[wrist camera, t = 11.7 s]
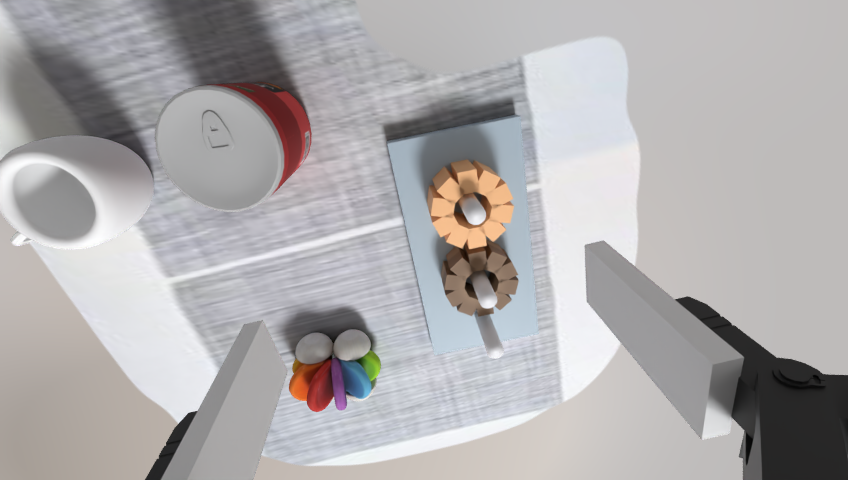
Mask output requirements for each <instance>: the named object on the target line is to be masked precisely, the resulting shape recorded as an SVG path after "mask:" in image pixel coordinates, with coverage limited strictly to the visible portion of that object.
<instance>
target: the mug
mask: <svg viewBox="0 0 848 480" xmlns="http://www.w3.org/2000/svg"><path fill="white" fill-rule="evenodd" d="M153 193H154V181H153V177H152V174H151V172H150V170H149V168H148V166H147V165H146V164H145V162H144V161H143V160H142V159H141V158H140V157H139V156H138V155H137V154H136V153H135V152H134V151H132V150H131V149H129V148H128V147H126V146H124V145H122V144H119V143H117V142H114V141H111V140H108V139H104V138H99V137H94V136H83V135H68V136H57V137H50V138H46V139H42V140H38V141H34V142H30V143H28V144H25V145H23V146H20V147H18V148H16V149H13V150H12V151H10V152H9V153H7V154H6V155H5V156H4V157H3V158H2V160H1V161H0V213H1V214H2V216H3V217H4V218H5V219H6V220H7V222H8V223H9V224H10V225H11V226H12V227H14V228H15V229H16V230H17V232H16V233H15V234H14V235H13V236H12V238H11V239H10V240H11V242H12V244H13V245H16V246H19V245H23V244H27V243H30V242H32V241H35V242H37V243H39V244H42V245H45V246H48V247H52V248H57V249H85V248H89V247H93V246H96V245H99V244H102V243H104V242H107V241H109V240H111V239H113V238H115V237H117V236H119V235H121V234H122V233H124V232H125V231H127V230H128V229H130V228H131V227H132V226H133V225H134V224H136V223H137V222H138V221H139V220H140V219H141V217H142V216H143V215H144V214H145V212H146V211H147V209H148V207H149V206H150V204H151V201H152V198H153Z"/></svg>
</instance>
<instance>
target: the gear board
mask: <svg viewBox="0 0 848 480" xmlns="http://www.w3.org/2000/svg"><path fill="white" fill-rule="evenodd" d="M387 146H388V150H389V154H390V159H391V163H392V168H393V172H394V177H395V181H396V186H397V190H398V195H399V199H400V203H401V208H402V212H403V217H404V221H405V226H406V230H407V235H408V239H409V243H410V248H411V252H412V257H413V261H414V266H415V270H416V275H417V279H418V283H419V288H420V292H421V297H422V301H423V306H424V310H425V315H426V319H427V323H428V328H429V332H430V337H431V341H432V346H433V350H434V355H438V354H443V353H448V352H453V351H458V350H463V349H467V348H472V347H477V346H482V345H485V348H486V351H487V354H488V356H489V357H490V358H493V359H496V358H499V357H501V356H502V355H503V353H504V348H503V346H502V344H501V342H502V341H507V340H512V339H516V338H521V337H526V336H531V335H536V334H539V332H538V320H537V308H536V296H535V284H534V272H533V260H532V249H531V237H530V225H529V213H528V201H527V189H526V177H525V165H524V153H523V141H522V129H521V117H520V116H518V115H511V116H506V117H501V118H497V119H492V120H487V121H482V122H477V123H472V124H467V125H463V126H458V127H453V128H448V129H443V130H438V131H434V132H429V133H424V134H419V135H414V136H409V137H405V138H400V139H395V140H390V141H387ZM466 159H468V160H469V161H470V162H471V164H473V162H474V160H475V161H478V162H480V163H482V164H484V165H486V166H488V167H490V168H491V169H492V170H493V171H494V172H495V173H496V174H497V175H498V176H499V177H500V178H501V179H502V180H503V181H504V182H506V184H507V186H508V188H509V190H510V193H511V195H512V197H513V199H512V200H510V202H511V203H512V204H513V205H514V209H513V213H512V218H511V222H510V223H502V224H503V225H504V227H505V228H506V231H505V232H503V233H502V234H501V235H500V236H499V237H498V238H497V239H496V240H495V241H494V243H496V244H499V246H500V247H501V249H504V250H505V252H506V254H507V255H508V257H509V258H510V260H511V261H512V263H513V265H514V267H515V269H516V271H517V273H518V275H517V276H516V277H517V278H518V280H519V282H518V286H517V290H516V294H515V295H511V294H509V295H510V297H511V299H512V300H511V301H510V302H509V303H508V304H507V305H506V306H505V307H503V308H502V309H501V310H499V309H497V308H496V307H495V305H496V303H497V297H496V294H495V292H494V290H493V288H492V286H491V284H490V282H489V280H488V277H489V276H490V271H488V270H480V271H475V272H473V273H472V274H471V275H470V276H469V277H468V278H467V279H466V282H467V283H470V284H472V285H473V287H474V290H475V292H476V295H477V297H478V300H479V303H480V305H481V306H482V307H483V308H487V309H488V308H492V307H493V309H494V314H489V315H484V316H480V317H478V315H477V312H476V310H475V312H474V314H473V315H472V316H470V315H467V314H464V313H461V312H459V311H458V310H457V307H456V306H455V307H452V305H451V303H450V302H449V300H448V299H447V297H446V295H445V291H444V287H443V283H442V278H441V270H442V264H443V261H447V258H446V255H447V254H448V253H449V252H450V251H451V250H452V249H453V248H454V247H455V245H452V244H450V243H447V242H446V240H445V237H444V236H443V237H440V235H439V234H438V232H437V230H436V228H435V227H434V225H433V223H432V220H431V217H430V213H429V209H428V208H429V207H428V204H427V197H428V190H429V185H432V186H435V185H434V183H433V180H432V179H433V178H434V177H435V175H436V174H437V173H438V172H439V171H440V170H441V169H442V168H443V167H445V168H447V169H448V170H449V171H450V172H451V173H452V170H451V163H452V162H457V161H461V160H466ZM481 196H482V194H480V193H477V192H473V193H468V194H464V195H463V196H462V197H461V198H460V199H459V200H458V201H457V202H456V203H455V207H454V211H456V212H458V213H461V214H463V213H464V215H465V217H466V218H467V220H468V222H469V223H470V224H473V225H479V224H481V223H482V222H483V221H484V220H485V218H486V211H485V210H484V208H483V207H482V205H481V204H480V201H481ZM485 236H486V235H485ZM486 239H487V240H489V241H491V240H490V239H489V238H488V237H487V236H486ZM492 242H493V241H492ZM462 249H463V250H464V246H463V248H462Z"/></svg>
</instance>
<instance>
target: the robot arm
mask: <svg viewBox="0 0 848 480" xmlns="http://www.w3.org/2000/svg"><path fill="white" fill-rule="evenodd" d="M585 267H586V294H587V302H588V304H589V305H590V306H591V307H592V308H593V310H594V311H595V312H596V313H597V314H598V316H599V317H600V318H601V319H602V320H603V322H604V323H605V324H606V325H607V327H608V328H609V329H610V330H611V331H612V333H613V334H614V335H615V336H616V337H617V339H618V340H619V341H620V342H621V343H622V345H623V346H624V347H625V348H626V349H627V351H628V352H629V353H630V354H631V355H632V356H633V358H634V359H635V360H636V361H637V363H638V364H639V365H640V366H641V367H642V369H643V370H644V371H645V372H646V373H647V375H648V376H649V377H650V378H651V379H652V381H653V382H654V383H655V384H656V385H657V387H658V388H659V389H660V390H661V391H662V392H663V394H664V395H665V396H666V398H667V399H668V400H669V401H670V402H671V404H672V405H673V406H674V407H675V408H676V410H677V411H678V412H679V413H680V414H681V416H682V417H683V418H684V419H685V420H686V421H687V423H688V424H689V425H690V426H691V428H692V429H693V430H694V431H695V432H696V434H697V435H698V436H699V437H700V438H701V440H703V439H708V438H712V437H716V436H721V435H725V434H729V433H730V428H731V423H732V418H733V419H734V420H735V421H736V422H737V423H738V424H739V425H740V426H741V427H742V428H743V429H744V430H745V431H744V436H743V440H742V445H741V450H740V454H739V457H740V458H743V480H848V375H826V374H822V373H821V372H820V371H818V370H817V369H815V368H813V367H811V366H809V365H807V364H805V363H802V362H799V361H795V360H792V359H784V358H776V357H775V356H774V355H772V354H771V353H770V352H768V351H767V350H766V349H764V348H763V347H762V346H761V345H759V344H758V343H757V342H755V341H754V340H753V339H751V338H750V337H749V336H747V335H746V334H745V333H743V332H742V331H741V330H740V329H738V328H737V327H736V326H732V324H731V323H730V322H729V321H728V320H726V319H725V318H724V317H721V316H720V314H719V313H717V312H716V311H714V310H713V309H712V308H711V307H709V306H708V305H707V304H705V303H702V302H700V301H698V300H695V299H693V298H691V297H684V298H679V299H673V298H672V297H671V296H670V295H668V294H667V293H666V292H665V291H664V290H662V289H661V288H660V287H659V286H658V285H656V284H655V283H654V282H653V281H652V280H650V279H649V278H648V277H647V276H646V275H644V274H643V273H642V272H641V271H639V270H638V269H637V268H636V267H635V266H634V265H632V264H631V263H630V262H629V261H628V260H626V259H625V258H624V257H623V256H622V255H620V254H619V253H618V252H617V251H616V250H614V249H613V248H612V247H611V246H610V245H608V244H607V243H606V242H605V241H600V242H596V243H591V244H587V245H585ZM287 371H288V370H287V368H286V366H285V364H284V362H283V360H282V358H281V356H280V354H279V352H278V350H277V348H276V346H275V344H274V342H273V340H272V338H271V336H270V334H269V332H268V330H267V328H266V326H265V324H264V322H263V320H261V321H257V322H253V323H248V324H244V326H243V327H242V329H241V331H240V333H239V335H238V337H237V339H236V340H235V342H234V344H233V346H232V348H231V350H230V352H229V354H228V355H227V357H226V359H225V361H224V363H223V365H222V367H221V368H220V370H219V372H218V374H217V376H216V378H215V380H214V381H213V383H212V385H211V387H210V389H209V391H208V393H207V395H206V396H205V398H204V400H203V402H202V404H201V406H200V408H199V409H198V411H195V412H191V413H188V414H187V415H186V416H185V417H184V419H183V420H182V421H181V422H180V423H179V424H178V425H177V426H176V427H175V429H174V430H173V432H172V434H171V436H170V437H169V439H168V441H167V442H166V446H164V448H163V450H162V451H161V453H160V455H159V459H157V460H156V462H155V463H154V465H153V467H152V469H151V470H150V472H149V474H148V476H147V477H146V479H145V480H253V479H254V476H255V473H256V469H257V466H258V463H259V460H260V457H261V454H262V451H263V447H264V444H265V441H266V438H267V435H268V432H269V428H270V425H271V422H272V419H273V416H274V413H275V409H276V406H277V403H278V400H279V397H280V394H281V390H282V387H283V384H284V381H285V378H286V375H287Z"/></svg>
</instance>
